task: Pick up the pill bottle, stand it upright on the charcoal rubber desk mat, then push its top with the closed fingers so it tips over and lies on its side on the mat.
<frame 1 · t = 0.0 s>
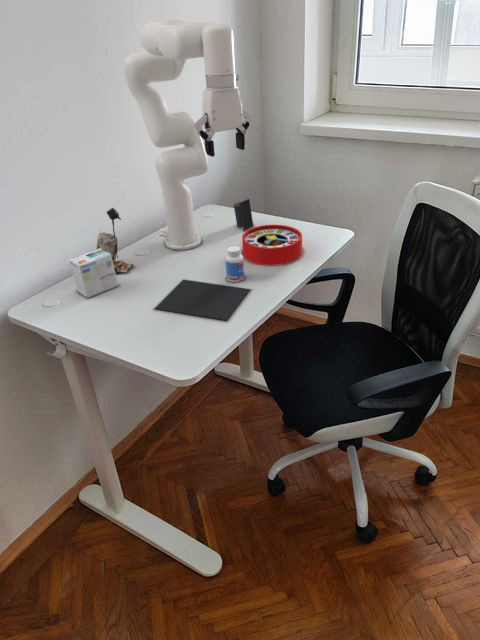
hand: (225, 152, 141), 37 cm above the table, tool pointing down, fingers open, 9 cm apart
desk mat: (203, 299, 151), on the table
pill bottle: (235, 278, 161), on the table
light bulb box: (98, 289, 158), on the table
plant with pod: (115, 269, 169), on the table
toy clock: (272, 252, 176), on the table
speaker: (243, 226, 196), on the table
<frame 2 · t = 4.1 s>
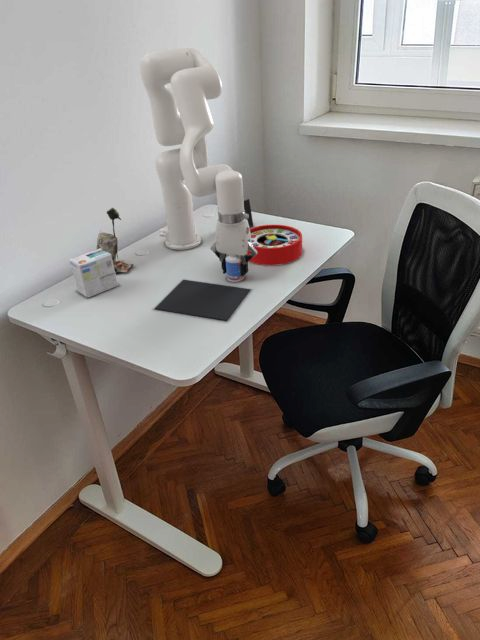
hand: (235, 272, 160), 2 cm above the table, tool pointing down, fingers closed on pill bottle, 5 cm apart
pill bottle: (235, 278, 161), on the table, touching gripper
everything else where it was.
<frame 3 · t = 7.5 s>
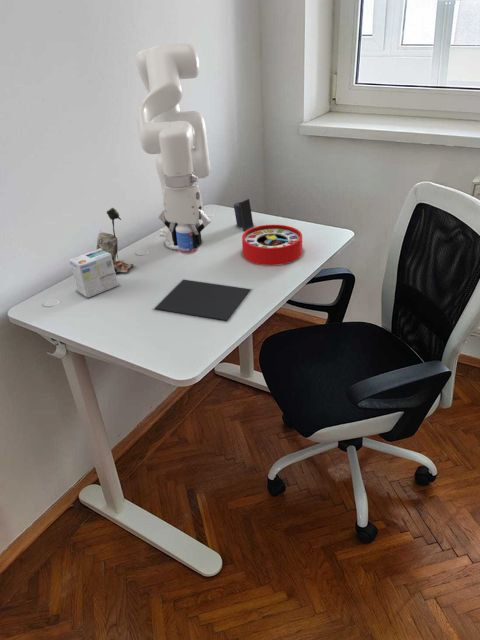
hand: (187, 244, 145), 16 cm above the table, tool pointing down, fingers closed on pill bottle, 5 cm apart
pill bottle: (188, 251, 146), point 14 cm above the table, touching gripper
everything else where it was.
when the fingers open (2 cm above the table, at t = 10.9 s): pill bottle stays where it is, resting on desk mat.
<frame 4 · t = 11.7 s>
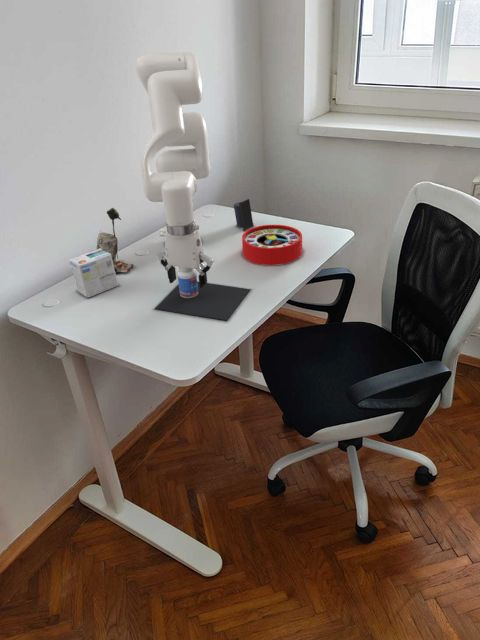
hand: (188, 283, 151), 4 cm above the table, tool pointing down, fingers open, 9 cm apart
pill bottle: (189, 294, 153), resting on desk mat
everything else where it was.
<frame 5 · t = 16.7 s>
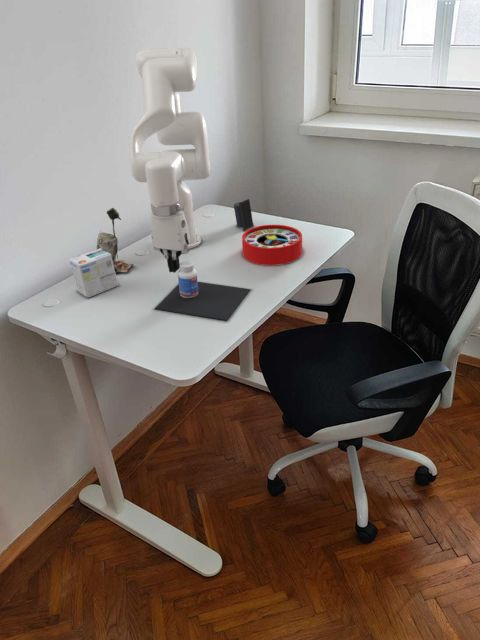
hand: (174, 270, 149), 8 cm above the table, tool pointing down, fingers closed
pill bottle: (189, 294, 153), resting on desk mat, touching gripper
everything else where it was.
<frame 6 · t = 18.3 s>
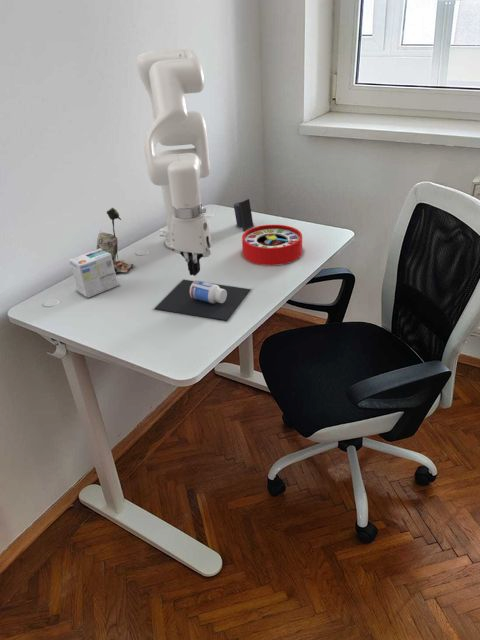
hand: (194, 273, 148), 8 cm above the table, tool pointing down, fingers closed
pill bottle: (194, 288, 150), point 3 cm above the table, touching desk mat
everything else where it was.
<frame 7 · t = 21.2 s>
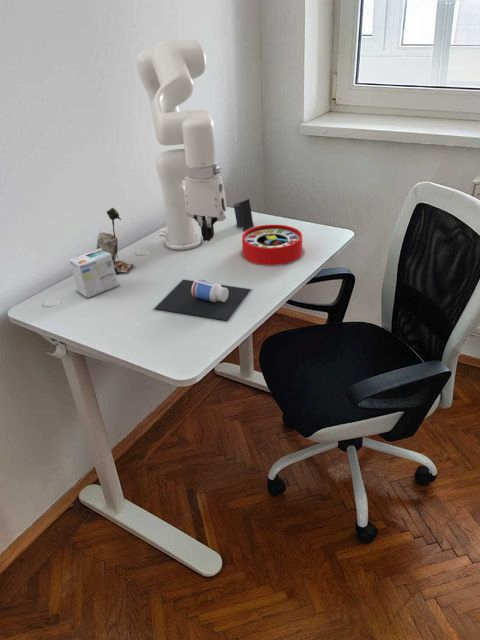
hand: (208, 238, 141), 18 cm above the table, tool pointing down, fingers closed
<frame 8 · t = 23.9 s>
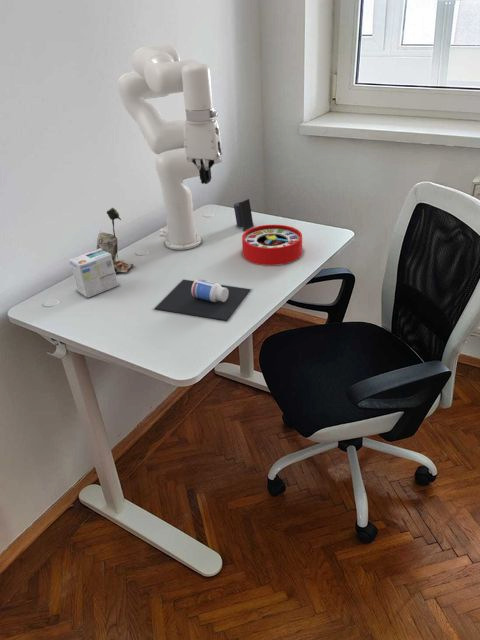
hand: (206, 182, 153), 27 cm above the table, tool pointing down, fingers closed
nothing on the table moved.
at the end: pill bottle tilted 90°; pill bottle inside the target area on the desk mat (2.6 cm from its centre), point 3.1 cm above the desk mat's base; the gripper is holding nothing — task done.
